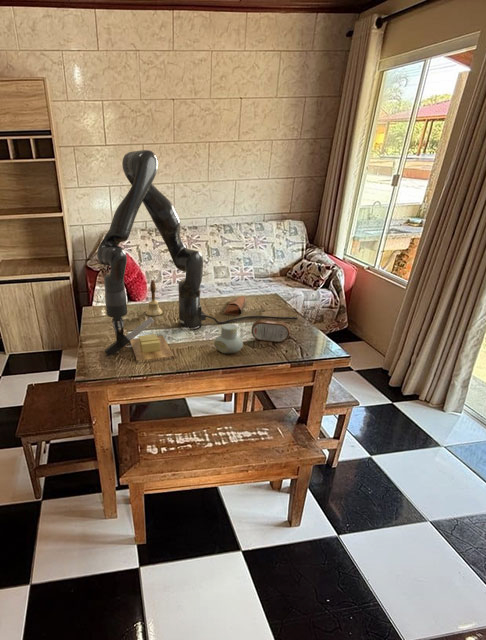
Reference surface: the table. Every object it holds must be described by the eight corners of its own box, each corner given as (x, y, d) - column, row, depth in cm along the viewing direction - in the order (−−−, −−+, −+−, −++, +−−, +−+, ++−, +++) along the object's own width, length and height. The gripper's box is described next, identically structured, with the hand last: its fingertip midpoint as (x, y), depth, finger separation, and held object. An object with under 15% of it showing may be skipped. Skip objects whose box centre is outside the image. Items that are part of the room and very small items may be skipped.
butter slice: (159, 348, 159) (158, 340, 157) (160, 350, 157) (159, 342, 155) (141, 350, 158) (141, 342, 156) (142, 352, 156) (141, 344, 154)
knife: (110, 357, 156) (104, 352, 154) (109, 355, 157) (104, 350, 156) (154, 322, 153) (149, 315, 151) (153, 320, 154) (148, 314, 153)
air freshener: (210, 348, 160) (211, 325, 155) (225, 343, 164) (226, 319, 159) (230, 358, 152) (232, 333, 147) (246, 352, 156) (247, 327, 151)
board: (162, 337, 170) (162, 335, 170) (173, 358, 153) (173, 355, 153) (129, 341, 168) (129, 339, 168) (137, 363, 151) (136, 360, 150)
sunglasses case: (228, 301, 206) (235, 290, 203) (239, 308, 206) (247, 297, 203) (223, 313, 191) (231, 302, 188) (235, 321, 191) (243, 310, 188)
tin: (289, 341, 163) (291, 321, 159) (288, 344, 161) (291, 324, 157) (251, 337, 168) (252, 318, 164) (250, 340, 165) (251, 320, 161)
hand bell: (144, 311, 199) (142, 278, 191) (160, 309, 201) (159, 277, 193) (147, 316, 192) (145, 283, 184) (164, 314, 194) (163, 281, 186)
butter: (156, 342, 164) (155, 334, 162) (158, 347, 160) (158, 339, 158) (139, 344, 163) (138, 336, 161) (141, 349, 159) (140, 341, 157)
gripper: (128, 307, 142) (132, 351, 150) (123, 295, 153) (127, 337, 162) (107, 309, 140) (112, 354, 149) (104, 297, 152) (108, 339, 161)
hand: (120, 345), depth 155 cm, fingers closed on knife, 2 cm apart
